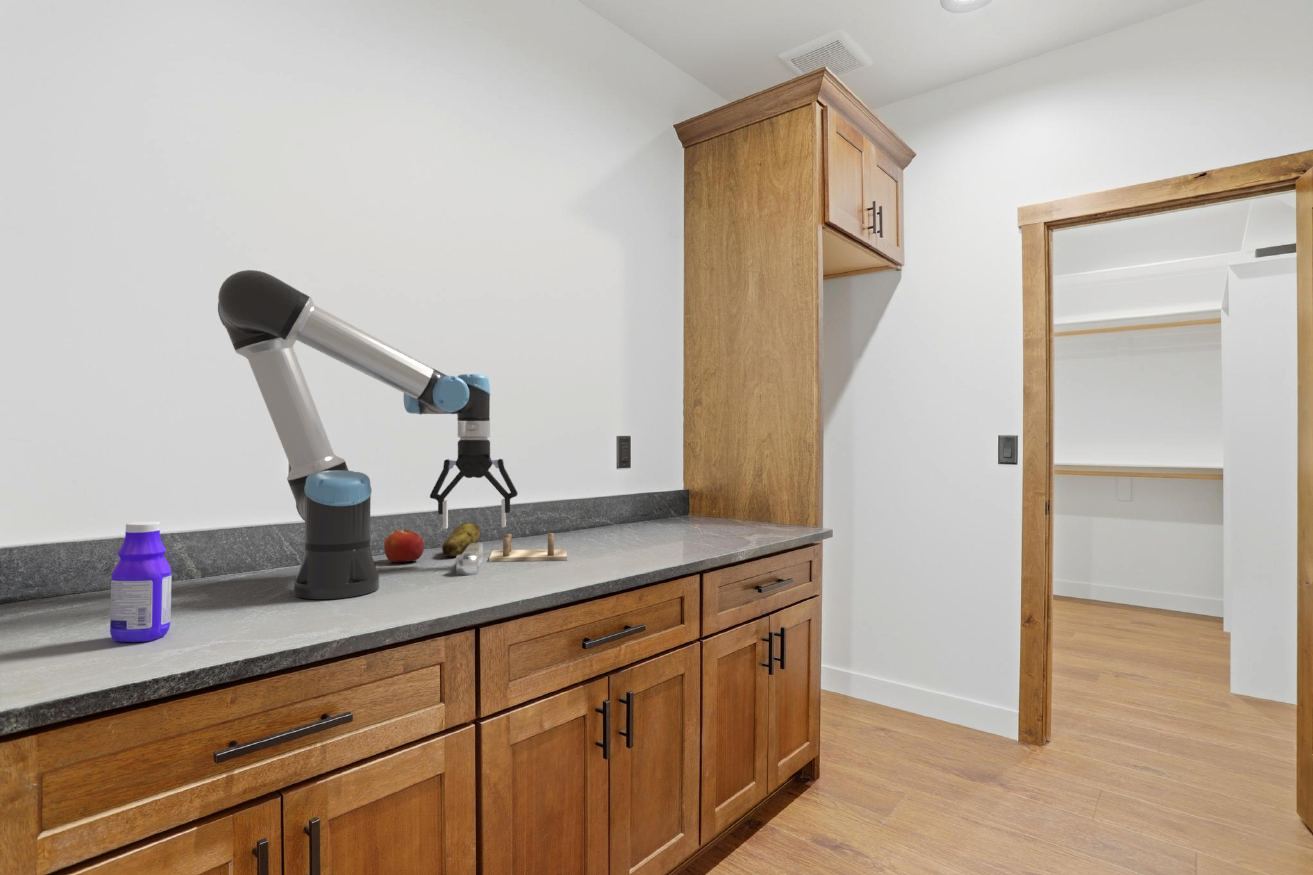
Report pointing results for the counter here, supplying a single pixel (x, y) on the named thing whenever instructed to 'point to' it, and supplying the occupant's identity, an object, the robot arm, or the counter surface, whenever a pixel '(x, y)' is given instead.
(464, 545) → the potato
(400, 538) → the tomato
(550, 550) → the rack
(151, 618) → the bottle
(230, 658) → the counter surface
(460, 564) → the clear glass container
